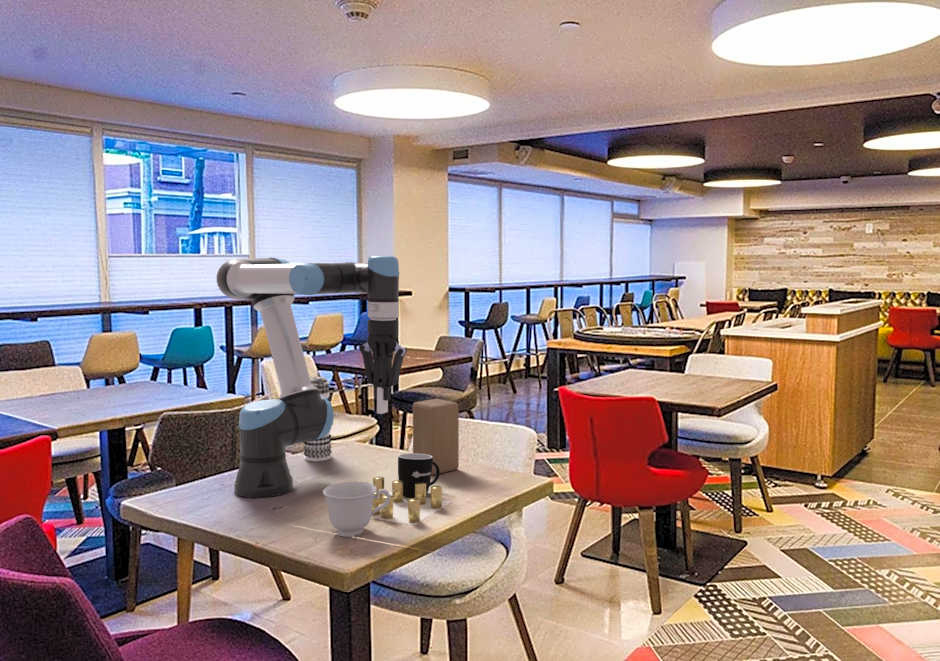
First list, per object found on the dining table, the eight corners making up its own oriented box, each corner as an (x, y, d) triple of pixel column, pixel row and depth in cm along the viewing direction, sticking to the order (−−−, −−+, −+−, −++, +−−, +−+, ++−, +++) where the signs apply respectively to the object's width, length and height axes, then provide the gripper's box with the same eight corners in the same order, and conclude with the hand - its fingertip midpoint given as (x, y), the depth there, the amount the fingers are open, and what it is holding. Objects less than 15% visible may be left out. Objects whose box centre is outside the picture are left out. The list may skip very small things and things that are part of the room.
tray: (331, 512, 184) (331, 510, 184) (374, 491, 201) (374, 489, 201) (414, 526, 174) (414, 525, 174) (451, 503, 191) (451, 501, 191)
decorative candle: (336, 454, 240) (334, 375, 238) (328, 461, 231) (326, 380, 228) (308, 453, 241) (306, 375, 238) (298, 461, 232) (296, 380, 229)
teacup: (389, 541, 166) (389, 496, 165) (320, 543, 164) (319, 498, 163) (391, 522, 178) (390, 480, 177) (326, 524, 176) (325, 482, 175)
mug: (407, 500, 190) (409, 460, 190) (390, 493, 198) (391, 454, 198) (447, 496, 197) (449, 457, 197) (428, 489, 205) (430, 451, 205)
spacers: (343, 512, 184) (343, 491, 183) (378, 494, 197) (378, 475, 197) (415, 524, 175) (415, 503, 175) (445, 505, 189) (445, 485, 188)
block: (437, 463, 229) (437, 397, 227) (460, 469, 222) (459, 402, 220) (411, 469, 223) (411, 401, 221) (433, 476, 215) (433, 406, 213)
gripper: (352, 318, 187) (352, 412, 190) (397, 321, 181) (396, 418, 184) (369, 316, 194) (369, 407, 196) (413, 319, 188) (412, 412, 190)
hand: (382, 412), depth 190 cm, fingers closed
